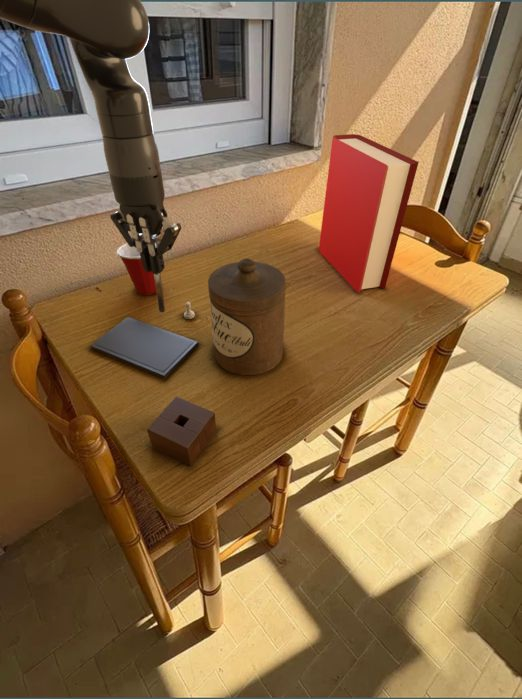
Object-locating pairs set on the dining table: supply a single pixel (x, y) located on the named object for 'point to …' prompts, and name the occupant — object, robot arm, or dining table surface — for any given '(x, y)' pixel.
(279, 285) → the wooden container
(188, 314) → the pawn
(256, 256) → the dining table surface
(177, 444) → the stylus stand
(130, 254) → the plastic cup
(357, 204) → the book
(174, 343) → the plate
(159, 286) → the stylus
